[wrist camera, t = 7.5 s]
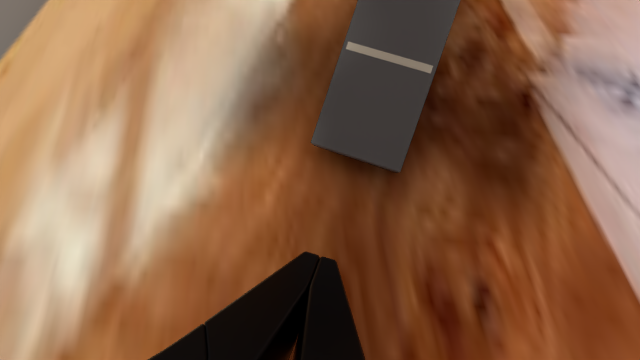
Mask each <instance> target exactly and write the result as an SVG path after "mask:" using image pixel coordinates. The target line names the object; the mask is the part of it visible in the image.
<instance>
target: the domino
mask: <svg viewBox="0 0 640 360" xmlns="http://www.w3.org/2000/svg"><path fill="white" fill-rule="evenodd" d="M459 3H460V0H358V2H357V5H356V8H355V11H354V14H353V17H352V20H351V23H350V26H349V29H348V32H347V35H346V38H345V41H344V44H343V47H342V50H341V53H340V56H339V59H338V62H337V65H336V68H335V71H334V74H333V77H332V80H331V83H330V86H329V89H328V92H327V95H326V98H325V101H324V104H323V107H322V110H321V113H320V116H319V119H318V122H317V125H316V128H315V131H314V134H313V137H312V140H311V143H312V144H313V145H315V146H317V147H320V148H323V149H327V150H330V151H333V152H336V153H339V154H342V155H345V156H348V157H351V158H354V159H357V160H360V161H363V162H366V163H369V164H372V165H375V166H378V167H381V168H384V169H387V170H390V171H393V172H396V173H398V172H400V171H401V168H402V166H403V163H404V160H405V157H406V154H407V151H408V148H409V146H410V143H411V140H412V137H413V134H414V131H415V128H416V126H417V123H418V120H419V117H420V114H421V111H422V108H423V106H424V103H425V100H426V97H427V94H428V91H429V88H430V86H431V83H432V80H433V77H434V74H435V71H436V68H437V66H438V63H439V60H440V57H441V54H442V51H443V48H444V46H445V43H446V40H447V37H448V34H449V31H450V28H451V26H452V23H453V20H454V17H455V14H456V11H457V8H458V6H459Z"/></svg>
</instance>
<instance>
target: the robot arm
mask: <svg viewBox="0 0 640 360" xmlns="http://www.w3.org/2000/svg"><path fill="white" fill-rule="evenodd" d="M297 337H298V338H297ZM296 340H297V342H296ZM295 343H296V346H295V351H294V356H293V360H365V357H364V354H363V350H362V347H361V344H360V340H359V337H358V333H357V330H356V326H355V323H354V320H353V316H352V313H351V309H350V306H349V303H348V299H347V296H346V292H345V289H344V286H343V282H342V279H341V275H340V272H339V269H338V265H337V262H336V261H335V260H333V259H330V258H326V257H321V258H320V257H319V255H316V254H313V253H309V252H303V253H302V254H300V255H299V256H298V257H296V258H295V259H293V260H292V261H290V262H289V263H288V264H286V265H285V266H283V267H282V268H281V269H279V270H278V271H276V272H275V273H273V274H272V275H271V276H269V277H268V278H266V279H265V280H264V281H262V282H261V283H259V284H258V285H257V286H255V287H254V288H252V289H251V290H249V291H248V292H247V293H245V294H244V295H242V296H241V297H240V298H238V299H237V300H235V301H234V302H232V303H231V304H230V305H228V306H227V307H225V308H224V309H223V310H221V311H220V312H218V313H217V314H215V315H214V316H213V317H211V318H210V319H208V320H207V321H206V322H205V323H204V324H201V325H200V326H198V327H197V328H195V329H194V330H193V331H191V332H190V333H188V334H187V335H185V336H184V337H182V338H181V339H179V340H178V341H176V342H175V343H173V344H172V345H170V346H169V347H167V348H166V349H164V350H163V351H161V352H160V353H158V354H156V355H155V356H153V357H151V358H150V359H148V360H289V357H290V355H291V353H292V350H293V348H294V345H295Z"/></svg>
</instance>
